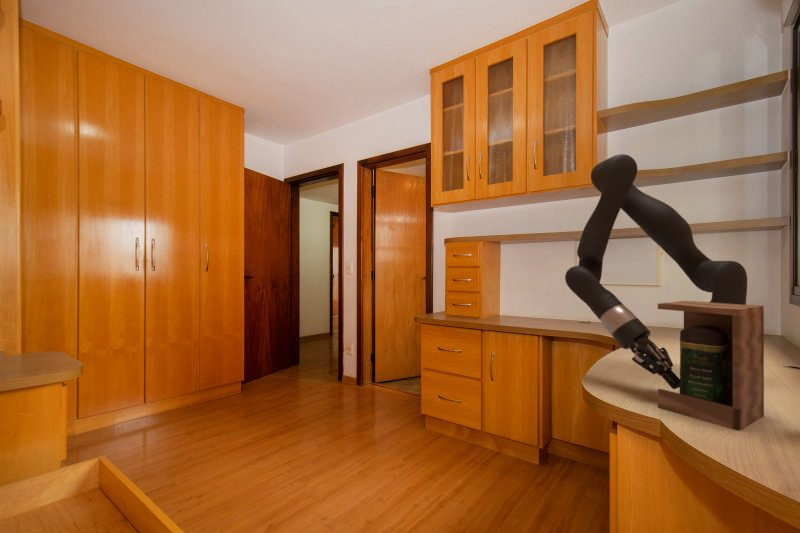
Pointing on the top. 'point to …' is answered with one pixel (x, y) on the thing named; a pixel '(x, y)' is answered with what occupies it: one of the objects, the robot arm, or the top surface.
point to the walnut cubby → (741, 364)
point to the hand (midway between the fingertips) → (678, 386)
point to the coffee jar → (704, 363)
